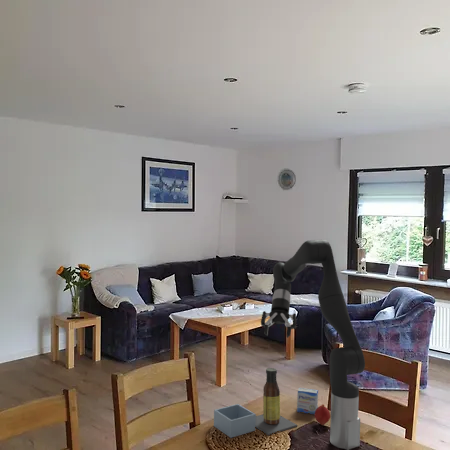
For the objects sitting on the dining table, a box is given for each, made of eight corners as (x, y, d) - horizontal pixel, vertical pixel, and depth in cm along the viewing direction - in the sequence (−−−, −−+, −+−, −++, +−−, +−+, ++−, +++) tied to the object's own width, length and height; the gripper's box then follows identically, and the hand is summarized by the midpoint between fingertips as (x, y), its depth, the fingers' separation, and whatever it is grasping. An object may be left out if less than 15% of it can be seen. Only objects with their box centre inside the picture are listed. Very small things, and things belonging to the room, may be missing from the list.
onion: (311, 424, 177) (311, 403, 177) (319, 420, 181) (320, 399, 181) (324, 429, 173) (325, 408, 173) (332, 425, 177) (333, 404, 177)
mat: (297, 426, 175) (297, 424, 175) (268, 435, 167) (268, 433, 167) (272, 412, 187) (272, 411, 187) (244, 420, 179) (244, 419, 179)
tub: (255, 430, 171) (255, 414, 171) (230, 437, 165) (231, 420, 165) (237, 419, 180) (238, 403, 180) (213, 425, 174) (214, 409, 174)
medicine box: (296, 412, 188) (297, 390, 188) (298, 407, 192) (298, 387, 192) (316, 415, 186) (317, 393, 186) (317, 410, 190) (318, 389, 190)
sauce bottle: (283, 422, 177) (284, 369, 177) (273, 427, 173) (274, 373, 172) (269, 416, 182) (270, 365, 181) (259, 421, 177) (260, 369, 177)
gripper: (263, 296, 198) (258, 329, 187) (297, 298, 195) (294, 332, 184) (265, 306, 204) (260, 339, 193) (298, 308, 200) (295, 342, 189)
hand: (276, 335), depth 188 cm, fingers open, 8 cm apart
